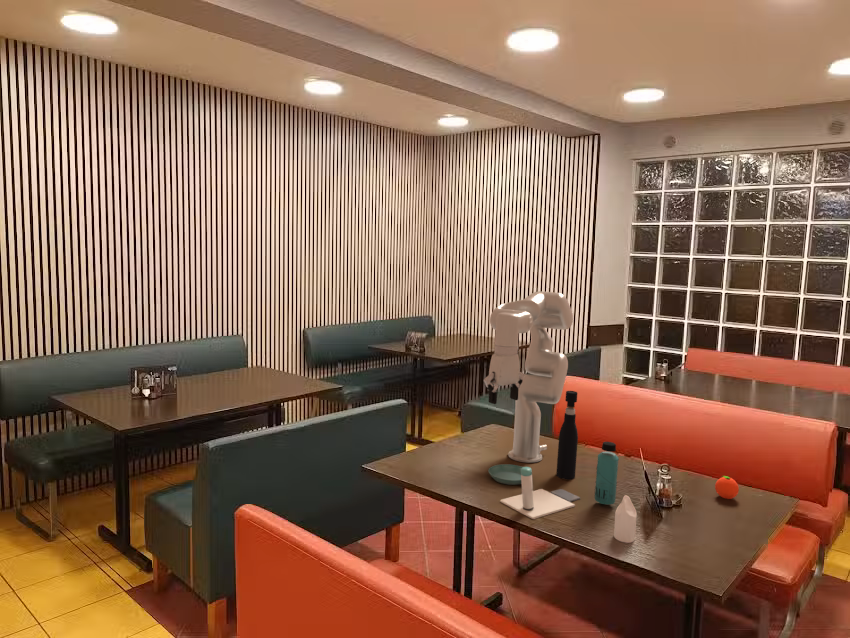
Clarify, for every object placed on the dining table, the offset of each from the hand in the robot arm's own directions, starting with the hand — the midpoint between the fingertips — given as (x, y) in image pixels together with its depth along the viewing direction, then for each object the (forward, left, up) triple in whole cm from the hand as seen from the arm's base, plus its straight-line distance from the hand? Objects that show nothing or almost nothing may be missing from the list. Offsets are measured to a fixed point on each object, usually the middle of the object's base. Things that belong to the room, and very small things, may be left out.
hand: (503, 401), depth 201 cm
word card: (-11, +20, -28) cm, 36 cm away
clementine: (-57, +47, -28) cm, 79 cm away
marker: (+8, +22, -27) cm, 35 cm away
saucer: (-5, 0, -28) cm, 28 cm away
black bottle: (-24, +8, -28) cm, 38 cm away
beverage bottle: (-16, +31, -28) cm, 45 cm away
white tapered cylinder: (-3, +48, -28) cm, 56 cm away
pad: (+2, +20, -28) cm, 34 cm away
